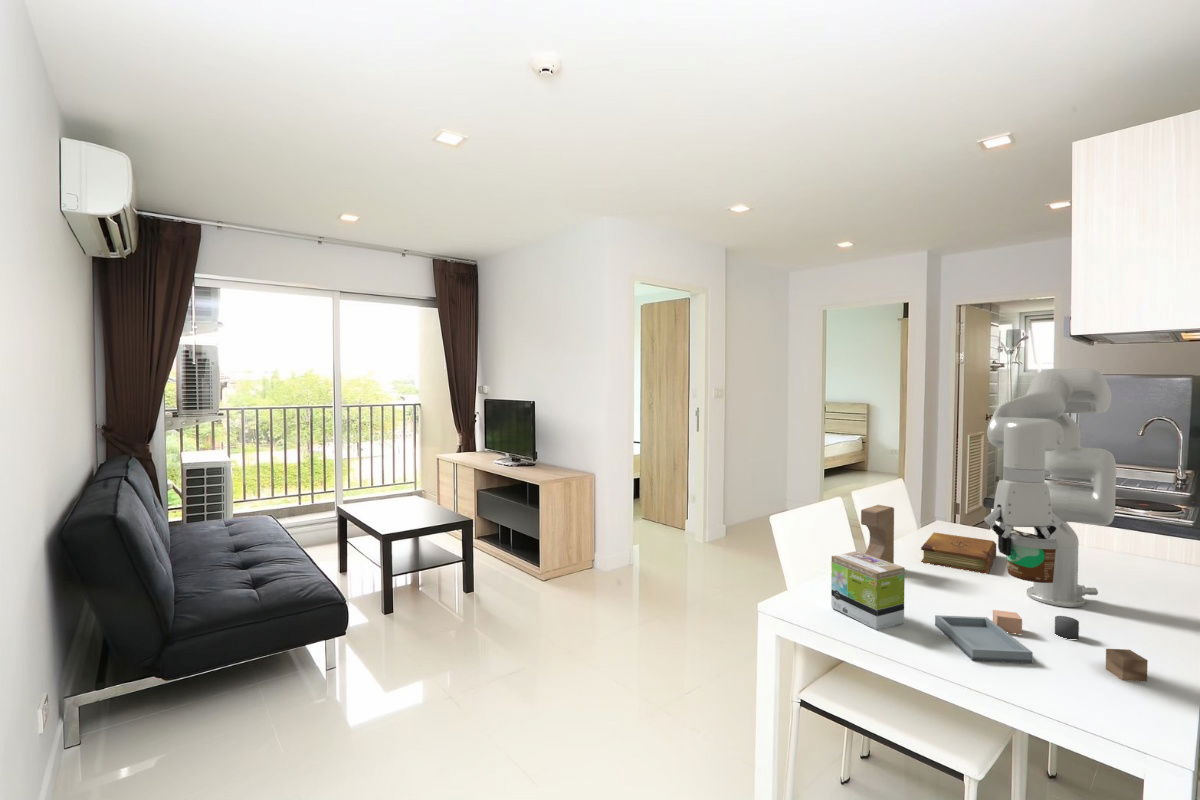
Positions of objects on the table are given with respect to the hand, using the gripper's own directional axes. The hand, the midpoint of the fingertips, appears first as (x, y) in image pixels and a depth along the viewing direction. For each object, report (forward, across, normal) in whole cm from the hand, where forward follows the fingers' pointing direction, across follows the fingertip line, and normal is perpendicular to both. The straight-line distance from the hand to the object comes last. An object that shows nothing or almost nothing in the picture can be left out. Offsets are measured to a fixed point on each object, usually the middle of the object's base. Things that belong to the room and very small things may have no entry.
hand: (1022, 553), depth 128 cm
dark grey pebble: (+22, -15, -8) cm, 27 cm away
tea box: (+22, +28, -16) cm, 39 cm away
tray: (+22, +8, -2) cm, 23 cm away
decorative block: (+22, +12, -52) cm, 58 cm away
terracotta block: (+22, -3, -10) cm, 24 cm away
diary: (+22, -20, -66) cm, 72 cm away
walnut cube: (+22, -14, +10) cm, 28 cm away
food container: (+6, 0, 0) cm, 6 cm away
